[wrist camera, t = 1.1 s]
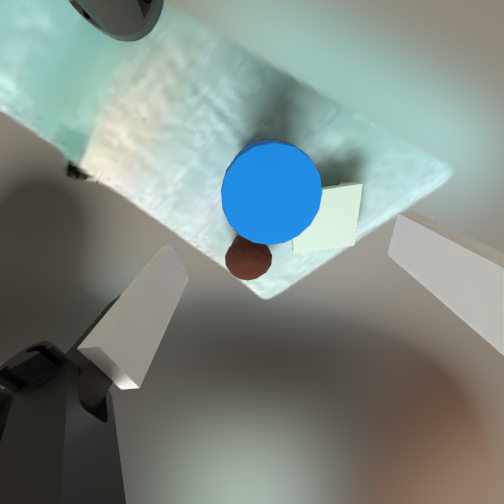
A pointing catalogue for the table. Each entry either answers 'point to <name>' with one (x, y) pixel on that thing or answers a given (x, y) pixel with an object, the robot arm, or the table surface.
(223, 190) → the thermos
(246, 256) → the muffin
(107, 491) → the robot arm
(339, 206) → the footstool
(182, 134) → the table surface
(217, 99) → the table surface
